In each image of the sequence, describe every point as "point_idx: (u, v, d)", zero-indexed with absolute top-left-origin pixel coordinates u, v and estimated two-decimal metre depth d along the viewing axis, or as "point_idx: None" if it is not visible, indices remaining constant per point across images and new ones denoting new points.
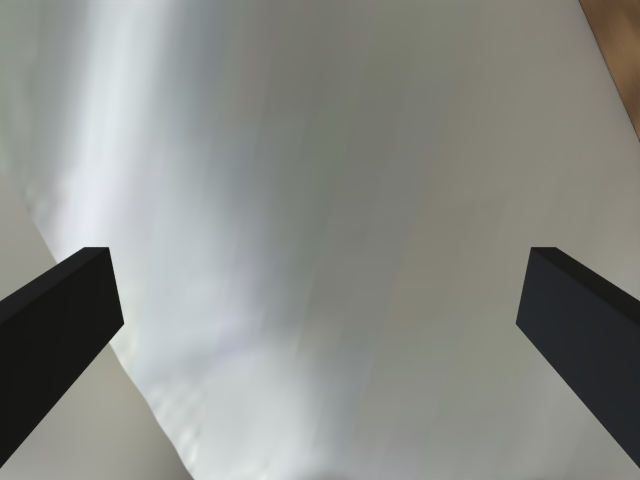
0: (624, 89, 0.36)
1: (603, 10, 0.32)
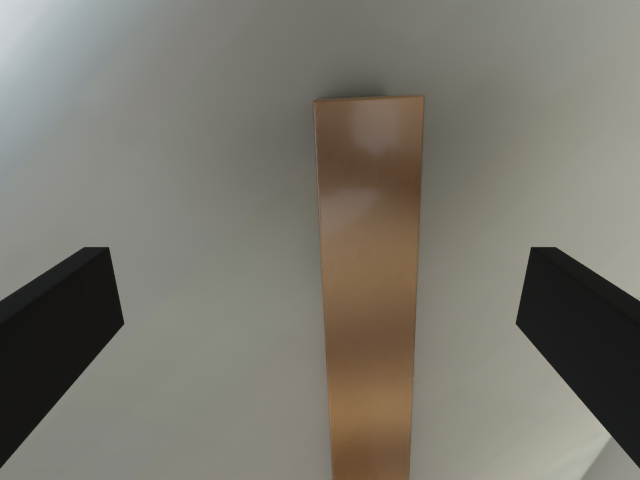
0: None
1: None
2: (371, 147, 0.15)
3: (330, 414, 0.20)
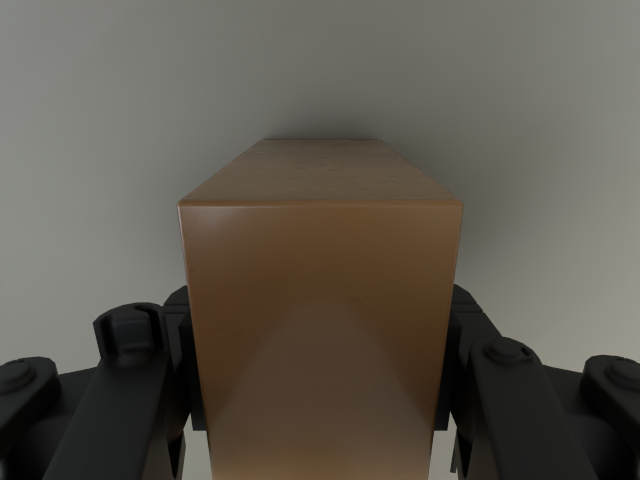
0: None
1: None
2: (325, 313, 0.06)
3: None
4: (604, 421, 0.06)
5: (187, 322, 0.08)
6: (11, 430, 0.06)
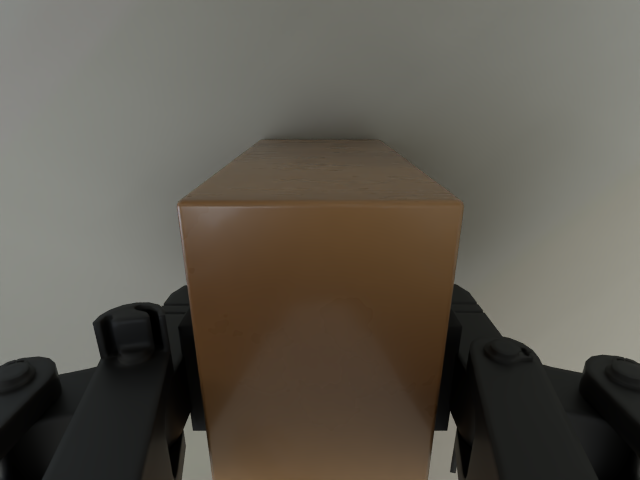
0: None
1: None
2: (325, 313, 0.06)
3: None
4: (604, 421, 0.06)
5: (187, 322, 0.08)
6: (11, 430, 0.06)
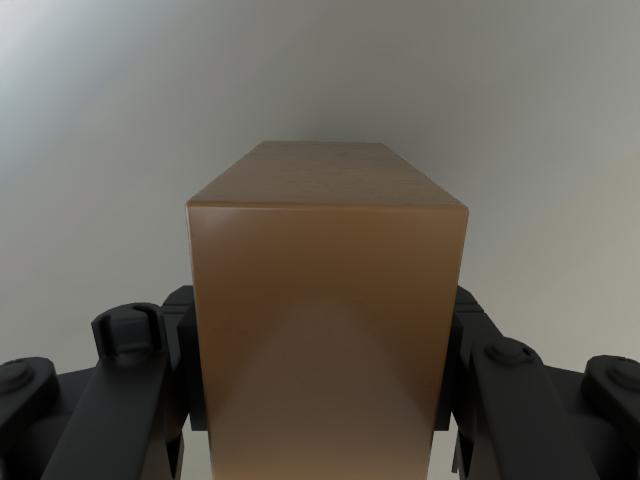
0: None
1: None
2: (329, 315, 0.06)
3: None
4: (606, 422, 0.06)
5: (185, 322, 0.08)
6: (9, 430, 0.06)
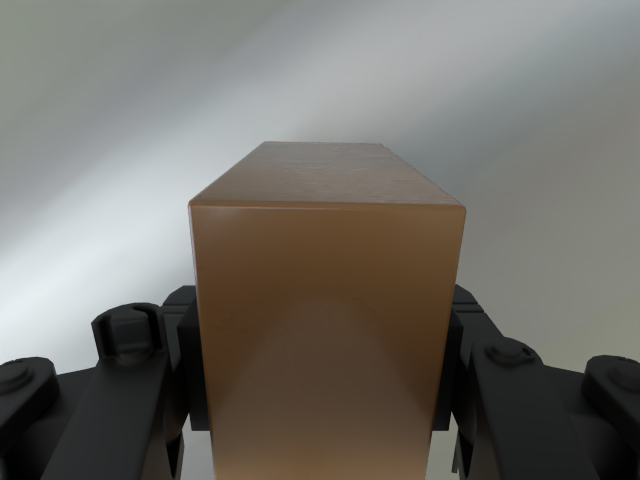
0: None
1: None
2: (329, 313, 0.06)
3: None
4: (606, 422, 0.06)
5: (186, 322, 0.08)
6: (9, 430, 0.06)
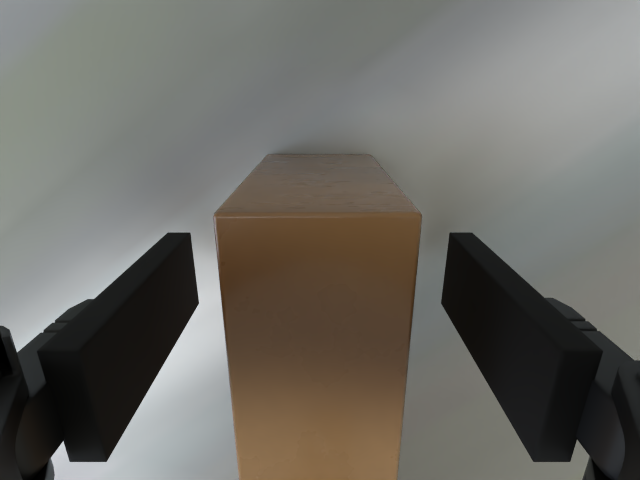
0: None
1: None
2: (321, 296, 0.08)
3: None
4: None
5: (49, 345, 0.07)
6: None
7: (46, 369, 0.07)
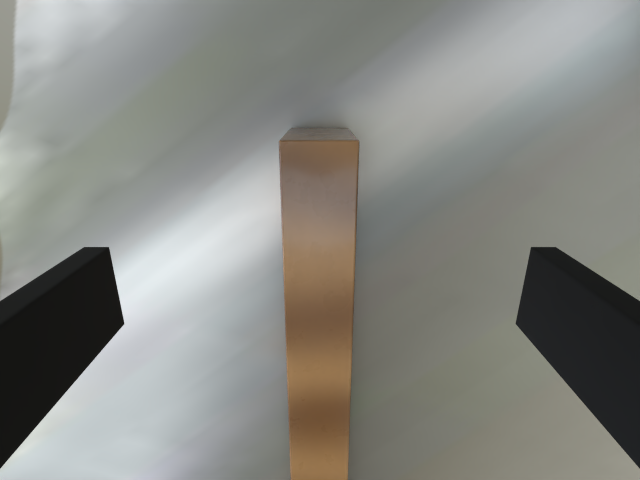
0: None
1: None
2: (320, 175, 0.21)
3: (288, 376, 0.26)
4: None
5: None
6: None
7: None
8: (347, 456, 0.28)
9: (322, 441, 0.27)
